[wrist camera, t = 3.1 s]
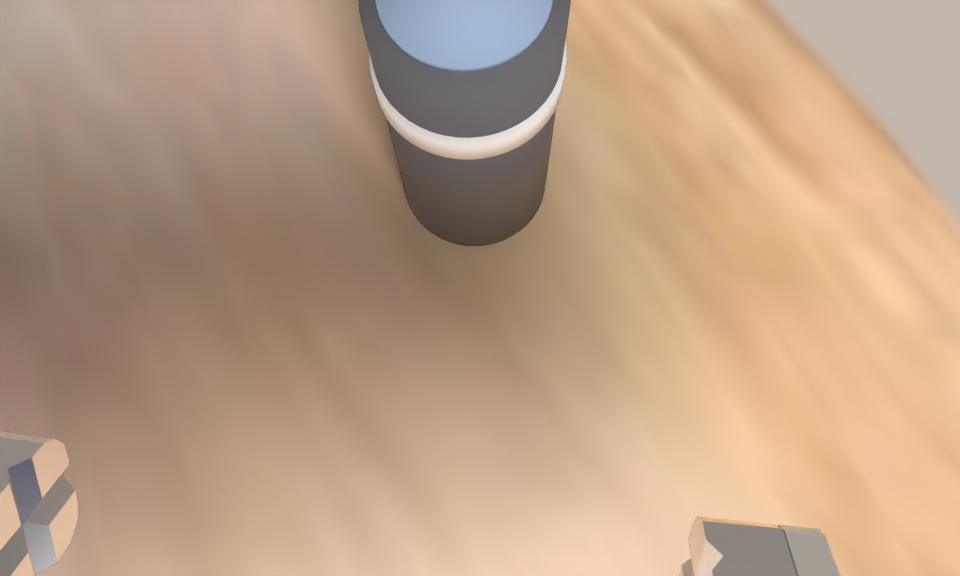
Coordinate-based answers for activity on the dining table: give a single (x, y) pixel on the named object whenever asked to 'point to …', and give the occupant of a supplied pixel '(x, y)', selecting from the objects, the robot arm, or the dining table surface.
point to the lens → (469, 106)
